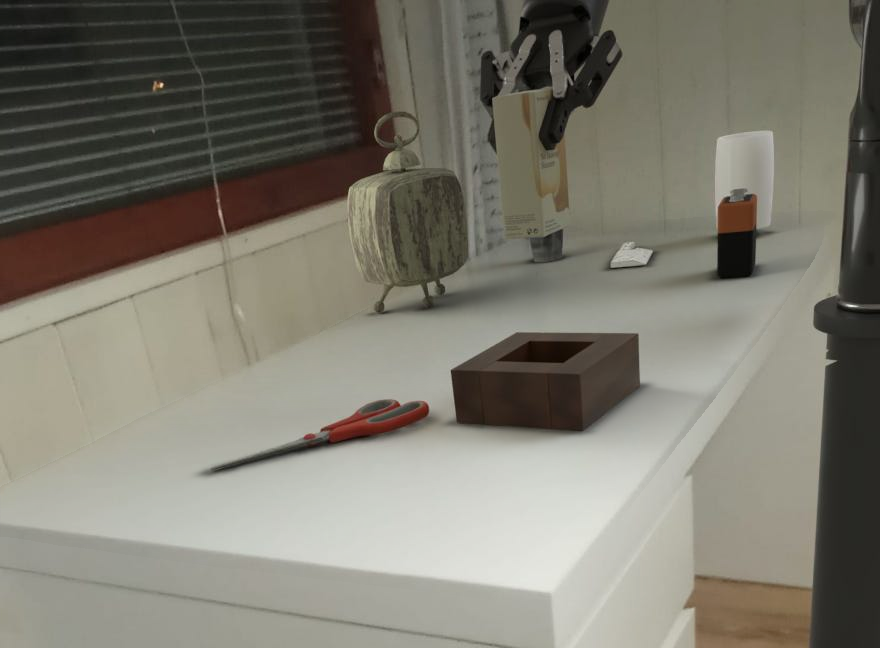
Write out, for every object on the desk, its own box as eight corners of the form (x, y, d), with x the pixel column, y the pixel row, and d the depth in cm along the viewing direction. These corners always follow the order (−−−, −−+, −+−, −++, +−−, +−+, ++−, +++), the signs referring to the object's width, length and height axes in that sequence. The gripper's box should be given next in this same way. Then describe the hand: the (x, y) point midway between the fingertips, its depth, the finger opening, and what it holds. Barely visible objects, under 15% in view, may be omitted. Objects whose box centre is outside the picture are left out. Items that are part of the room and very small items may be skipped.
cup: (782, 229, 153) (785, 128, 147) (756, 240, 148) (758, 136, 142) (730, 230, 159) (731, 132, 152) (704, 241, 154) (704, 141, 147)
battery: (755, 265, 133) (757, 186, 129) (752, 276, 128) (754, 193, 123) (721, 268, 135) (722, 189, 130) (716, 279, 129) (717, 197, 125)
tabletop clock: (444, 292, 148) (422, 106, 136) (481, 297, 141) (461, 101, 129) (362, 315, 142) (331, 122, 130) (396, 321, 135) (367, 118, 123)
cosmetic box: (544, 239, 91) (533, 91, 86) (502, 241, 94) (488, 97, 88) (573, 225, 96) (564, 83, 90) (532, 227, 98) (521, 90, 93)
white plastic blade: (656, 245, 156) (656, 238, 155) (645, 266, 143) (645, 258, 143) (623, 248, 157) (623, 240, 157) (609, 268, 145) (609, 260, 145)
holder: (640, 385, 94) (638, 333, 92) (583, 431, 85) (579, 374, 83) (520, 381, 101) (516, 332, 99) (456, 422, 92) (450, 369, 90)
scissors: (208, 470, 90) (205, 455, 90) (393, 405, 100) (391, 391, 100) (248, 488, 85) (244, 472, 84) (440, 417, 94) (438, 403, 94)
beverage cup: (519, 265, 158) (508, 127, 149) (531, 256, 164) (521, 122, 154) (564, 262, 155) (556, 121, 146) (575, 252, 161) (567, 116, 151)
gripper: (487, -31, 93) (435, 127, 91) (631, -63, 85) (579, 109, 83) (519, 30, 100) (471, 180, 97) (656, 5, 92) (608, 167, 89)
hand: (521, 146), depth 90 cm, fingers closed on cosmetic box, 4 cm apart
